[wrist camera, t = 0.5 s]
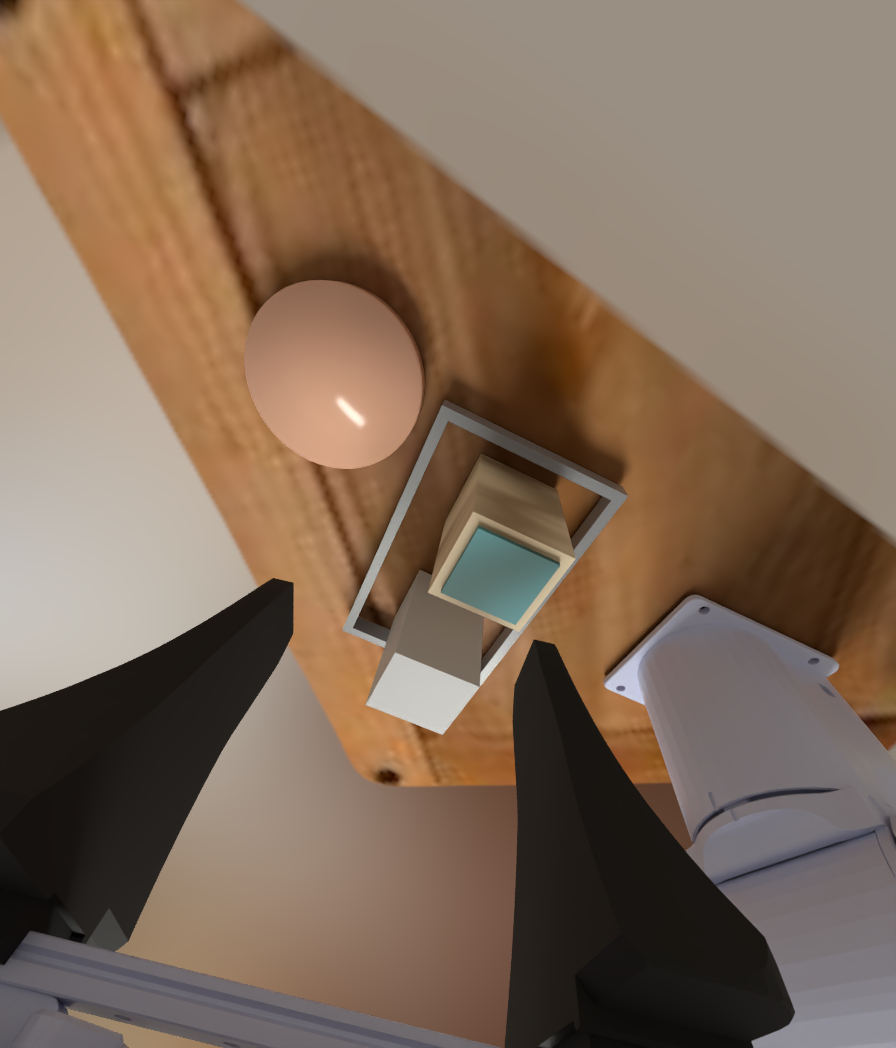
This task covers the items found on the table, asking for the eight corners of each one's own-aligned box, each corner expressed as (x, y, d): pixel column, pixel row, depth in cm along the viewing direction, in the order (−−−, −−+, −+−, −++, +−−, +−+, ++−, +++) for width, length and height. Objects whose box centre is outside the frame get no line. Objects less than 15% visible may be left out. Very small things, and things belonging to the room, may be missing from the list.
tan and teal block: (557, 489, 19) (576, 562, 14) (515, 551, 21) (519, 635, 16) (480, 453, 19) (472, 514, 14) (445, 520, 21) (426, 595, 16)
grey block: (484, 598, 23) (479, 686, 18) (454, 642, 25) (442, 734, 20) (419, 569, 23) (394, 652, 18) (394, 617, 25) (365, 704, 19)
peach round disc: (453, 334, 17) (450, 336, 16) (389, 485, 20) (384, 494, 19) (276, 243, 16) (263, 241, 15) (243, 418, 20) (231, 424, 19)
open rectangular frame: (622, 486, 19) (628, 496, 18) (480, 673, 26) (479, 686, 25) (445, 399, 18) (441, 405, 17) (347, 618, 25) (342, 630, 24)
